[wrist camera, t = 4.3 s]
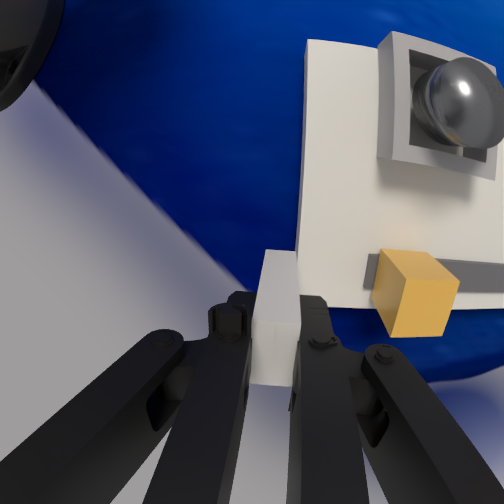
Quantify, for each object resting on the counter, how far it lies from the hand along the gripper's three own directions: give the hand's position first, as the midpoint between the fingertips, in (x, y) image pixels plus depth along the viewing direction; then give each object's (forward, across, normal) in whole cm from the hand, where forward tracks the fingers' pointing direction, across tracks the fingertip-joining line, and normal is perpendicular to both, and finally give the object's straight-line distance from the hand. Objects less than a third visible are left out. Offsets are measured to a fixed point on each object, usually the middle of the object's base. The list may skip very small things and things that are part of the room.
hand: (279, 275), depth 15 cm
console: (+5, +13, +5) cm, 15 cm away
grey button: (0, +8, +10) cm, 12 cm away
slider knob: (+1, +7, 0) cm, 7 cm away
